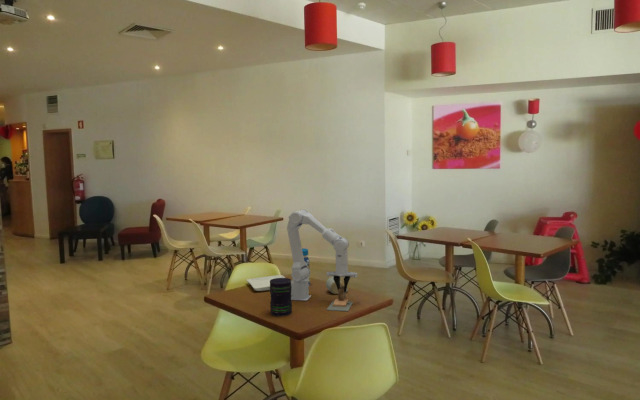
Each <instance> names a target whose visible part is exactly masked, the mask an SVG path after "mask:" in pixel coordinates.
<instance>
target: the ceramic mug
mask: <svg viewBox="0 0 640 400" xmlns="http://www.w3.org/2000/svg"><path fill="white" fill-rule="evenodd" d="M333 278H334V276H329V278H327V280H326V281H325V287H326V289H327V290H328V291H330V293H332V294H334V295H338V289H337V286H336V283H335V281H334V279H333ZM341 286H344V283H343V282H342V281H341V280H340V287H341ZM348 290H349V289H348V288H347V290H346V293H348Z"/></svg>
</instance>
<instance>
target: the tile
mask: <svg viewBox="0 0 640 400" xmlns="http://www.w3.org/2000/svg"><path fill="white" fill-rule="evenodd" d="M348 301H349V299H348V298H345V299H344V300H338V298H335V299H334V303H333V307H346V305H347V302H348Z"/></svg>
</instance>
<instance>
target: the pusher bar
mask: <svg viewBox="0 0 640 400" xmlns="http://www.w3.org/2000/svg"><path fill="white" fill-rule="evenodd" d="M337 296H338V298H337V299H338V300H344V299H346V297H347V292H344V285H343V286H341V287H340V288H339V290H338V294H337Z"/></svg>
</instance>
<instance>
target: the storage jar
mask: <svg viewBox="0 0 640 400" xmlns="http://www.w3.org/2000/svg"><path fill="white" fill-rule="evenodd" d="M291 281H292V278H288V277H285V278H275V279H271V280H270V290H269V293H270V302H269V304H270V305H269V308H270V315H271V316H273V317H286V316H290V315H292V313H293V300H291V291H292V290H291V288H292V286H291Z"/></svg>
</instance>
